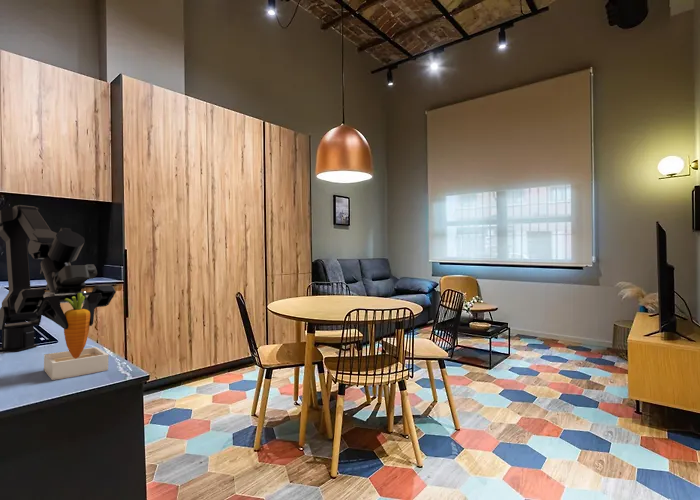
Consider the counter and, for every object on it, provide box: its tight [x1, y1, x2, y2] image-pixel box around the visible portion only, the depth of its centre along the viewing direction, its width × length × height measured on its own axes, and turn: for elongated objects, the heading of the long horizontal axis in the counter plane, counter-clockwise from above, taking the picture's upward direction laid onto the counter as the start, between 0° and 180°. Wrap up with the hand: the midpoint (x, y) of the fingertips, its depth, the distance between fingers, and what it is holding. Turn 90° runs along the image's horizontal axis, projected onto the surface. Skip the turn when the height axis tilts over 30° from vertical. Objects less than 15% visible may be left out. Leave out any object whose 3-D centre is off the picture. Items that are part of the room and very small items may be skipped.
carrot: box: [63, 293, 91, 359], centre depth 87 cm, size 5×5×15 cm
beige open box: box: [43, 346, 110, 381], centre depth 86 cm, size 10×10×4 cm
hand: (79, 326), depth 86 cm, fingers closed on carrot, 5 cm apart
